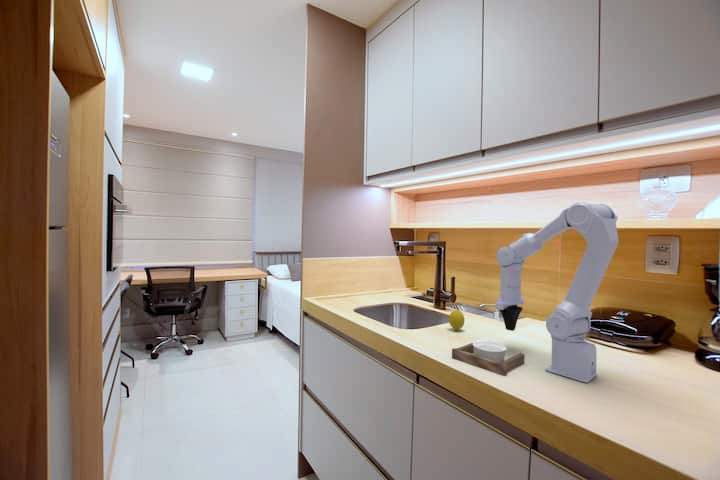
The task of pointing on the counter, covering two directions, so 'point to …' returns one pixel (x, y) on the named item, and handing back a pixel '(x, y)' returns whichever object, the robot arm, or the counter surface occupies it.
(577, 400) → the counter surface
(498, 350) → the ramekin
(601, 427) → the counter surface
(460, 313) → the lemon
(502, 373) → the walnut rail
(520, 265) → the robot arm
